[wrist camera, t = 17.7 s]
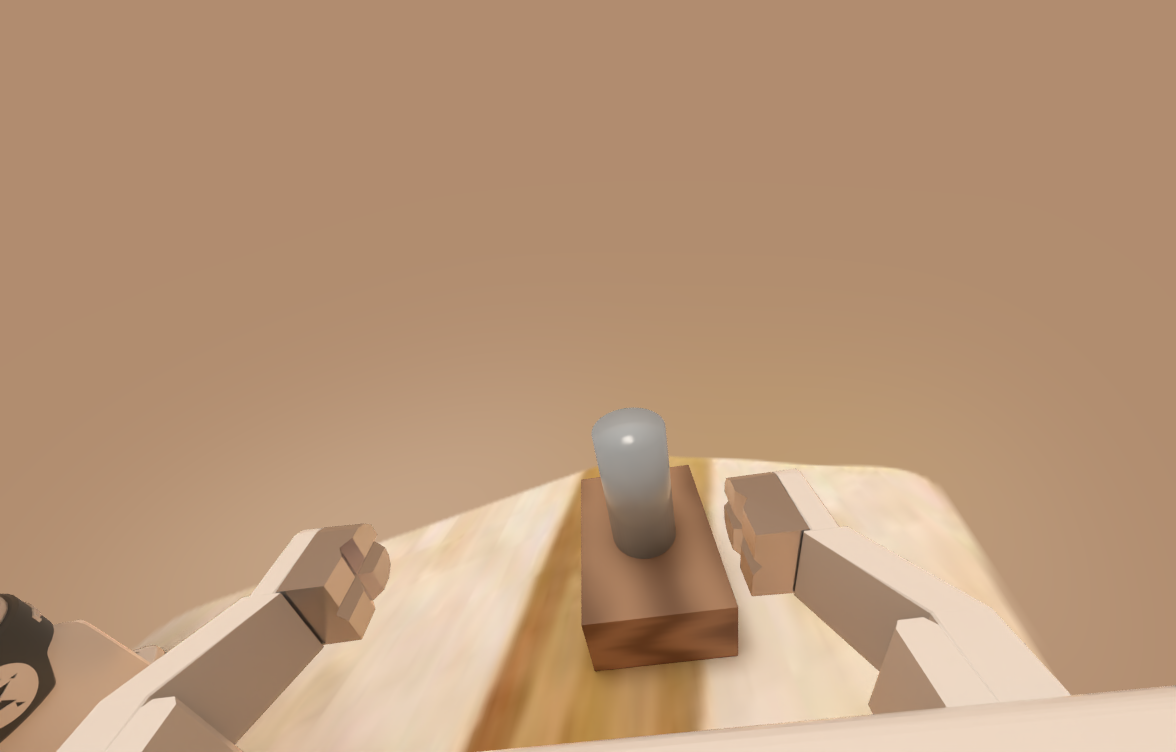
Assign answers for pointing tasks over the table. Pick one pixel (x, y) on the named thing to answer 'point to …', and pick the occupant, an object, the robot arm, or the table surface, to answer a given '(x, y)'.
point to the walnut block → (655, 588)
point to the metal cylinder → (636, 480)
